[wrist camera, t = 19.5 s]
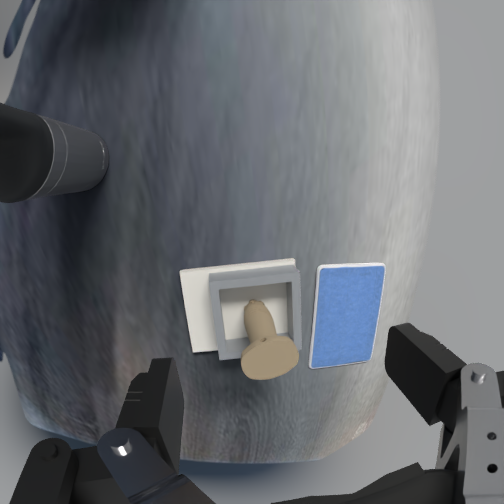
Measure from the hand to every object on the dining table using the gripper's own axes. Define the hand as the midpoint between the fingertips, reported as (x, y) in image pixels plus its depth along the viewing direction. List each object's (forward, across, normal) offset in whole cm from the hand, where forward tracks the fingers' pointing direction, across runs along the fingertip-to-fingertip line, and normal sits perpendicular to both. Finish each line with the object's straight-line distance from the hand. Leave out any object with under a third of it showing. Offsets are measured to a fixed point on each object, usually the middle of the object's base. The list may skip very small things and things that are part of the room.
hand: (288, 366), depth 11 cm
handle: (+35, -2, +13) cm, 37 cm away
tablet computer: (+37, -18, +18) cm, 45 cm away
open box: (+36, 0, +13) cm, 38 cm away
